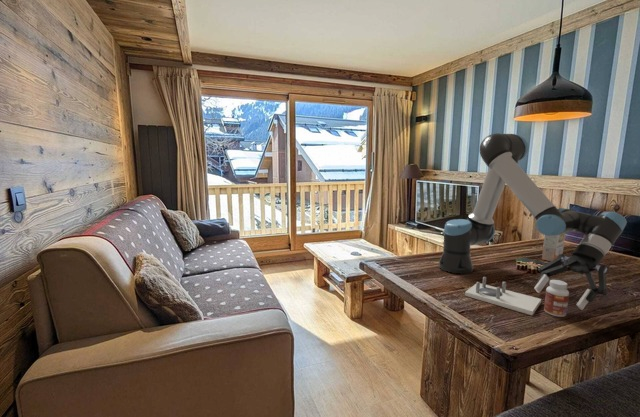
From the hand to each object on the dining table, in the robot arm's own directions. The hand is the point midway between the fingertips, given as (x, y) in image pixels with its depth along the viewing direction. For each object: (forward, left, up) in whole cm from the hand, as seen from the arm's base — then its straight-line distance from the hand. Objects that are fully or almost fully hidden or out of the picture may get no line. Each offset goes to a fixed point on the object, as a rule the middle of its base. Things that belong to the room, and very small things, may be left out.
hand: (556, 298), depth 103 cm
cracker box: (-12, +71, -6) cm, 72 cm away
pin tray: (-16, 0, -6) cm, 17 cm away
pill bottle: (0, +1, -6) cm, 6 cm away
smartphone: (-17, +56, -6) cm, 59 cm away
